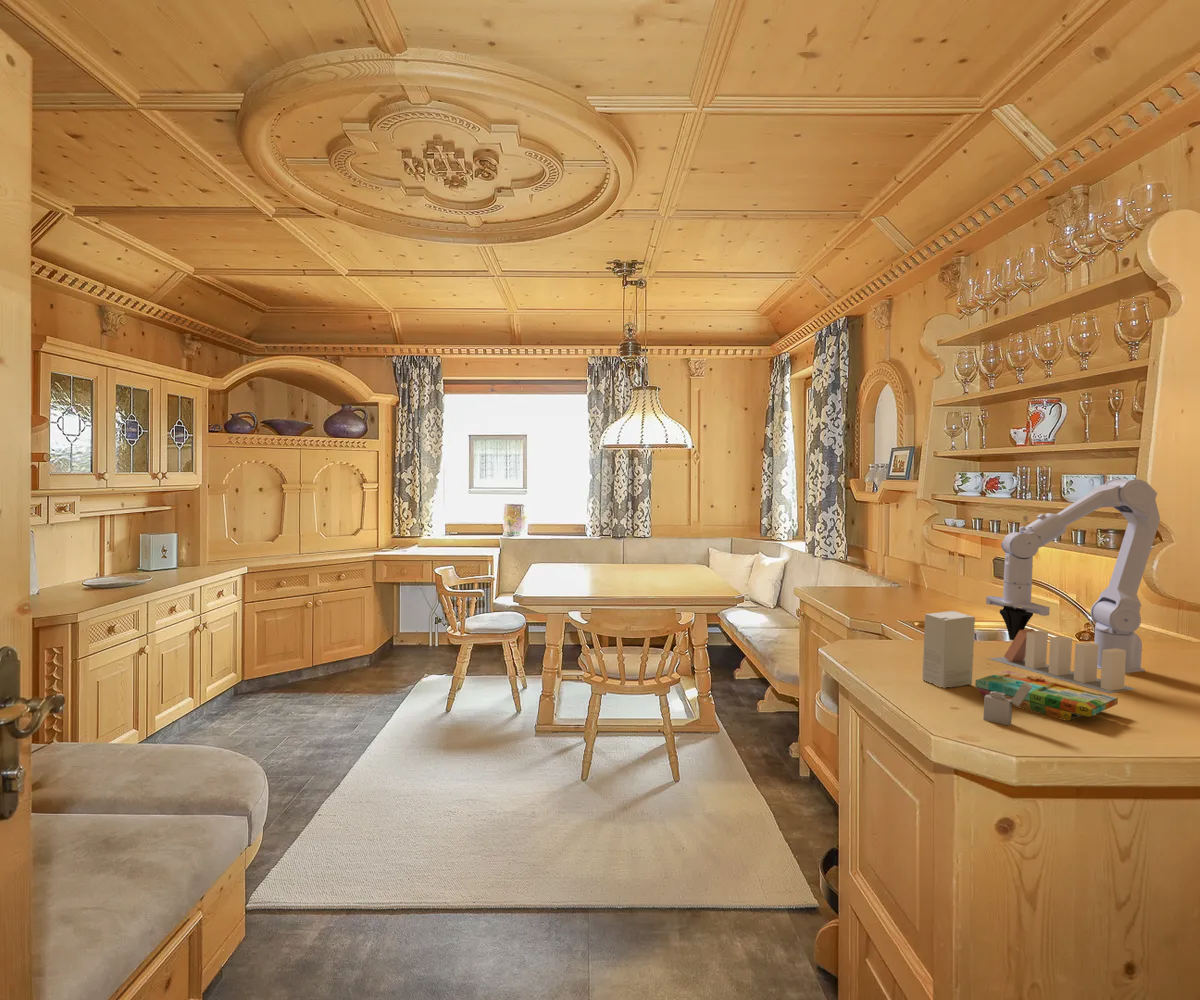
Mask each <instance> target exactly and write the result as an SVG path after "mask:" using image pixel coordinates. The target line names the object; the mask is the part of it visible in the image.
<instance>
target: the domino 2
mask: <svg viewBox="0 0 1200 1000" xmlns="http://www.w3.org/2000/svg"><path fill="white" fill-rule="evenodd" d="M1048 635H1049V632H1048V631H1042V630H1035V631H1032V632H1027V635H1026V655H1025V666H1026V667H1029V668H1033V669H1035V668H1042V667H1046V664H1047V658H1048V657H1047V656H1048V639H1049V636H1048Z"/></svg>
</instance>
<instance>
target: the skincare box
mask: <svg viewBox="0 0 1200 1000" xmlns="http://www.w3.org/2000/svg"><path fill="white" fill-rule="evenodd" d="M975 620H976V617H975V616H973V615H970V614H966V613H962V612H959V611H956V610H949V611H942V612H932V613H925V614H924V635H923V655H922V656H923V657H922V658H923V659H922V677H921V678H922V681H923V680H925V681H924V682H926V681H928V682H931V683H933V684H936V685H938V686H941V687H943V688H944V689H947V688H946V687H950V688H955V687H962V686H969V685H970V686H971V685H972V684H973V668H974V667H973V666H974V664H973V663H974V642H975V623H976V621H975ZM928 682H927V683H928ZM931 683H930V684H931ZM933 684H932V685H933ZM938 686H937V687H938ZM941 687H940V688H941ZM943 688H942V689H943Z"/></svg>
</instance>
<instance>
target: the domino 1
mask: <svg viewBox="0 0 1200 1000" xmlns="http://www.w3.org/2000/svg"><path fill="white" fill-rule="evenodd" d="M1032 631H1036V630H1035V629H1034V628H1028V629H1027V628H1026V629H1025V628H1024V630H1019V632H1018V633H1017V635H1016V637H1015V639H1014V640H1012V642H1011V644H1010V645H1009V647H1008V649H1007V651H1006V652H1005V653H1004V656H1003V657H1005V658H1006V659H1007V660H1009V661H1010V662H1016V661H1023V660H1024V659H1025V655H1026V635H1027V632H1032Z"/></svg>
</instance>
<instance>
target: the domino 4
mask: <svg viewBox="0 0 1200 1000" xmlns="http://www.w3.org/2000/svg"><path fill="white" fill-rule="evenodd" d="M1074 645H1075V648H1074V666H1073V667H1074V668H1073V672H1074V680H1075V681H1078V682H1082V683H1085V682H1092V681H1096V678H1098V677H1097V676H1098V668H1097V660H1098V644H1095V643H1094V642H1090V641H1086V642H1078V643H1077V642H1076V643H1075V644H1074Z"/></svg>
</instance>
